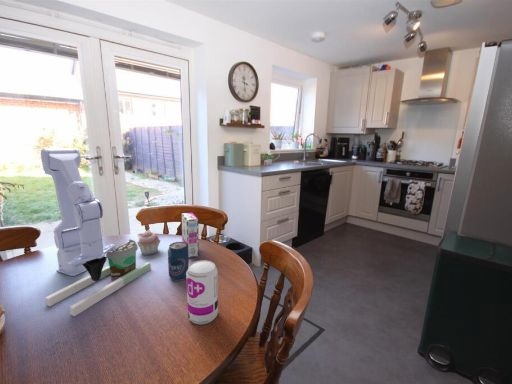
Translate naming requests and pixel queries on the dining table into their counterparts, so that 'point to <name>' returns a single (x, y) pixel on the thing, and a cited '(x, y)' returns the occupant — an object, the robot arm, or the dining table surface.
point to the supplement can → (202, 292)
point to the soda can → (178, 260)
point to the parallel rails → (98, 294)
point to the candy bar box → (190, 233)
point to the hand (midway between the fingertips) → (96, 279)
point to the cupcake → (148, 243)
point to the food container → (123, 259)
